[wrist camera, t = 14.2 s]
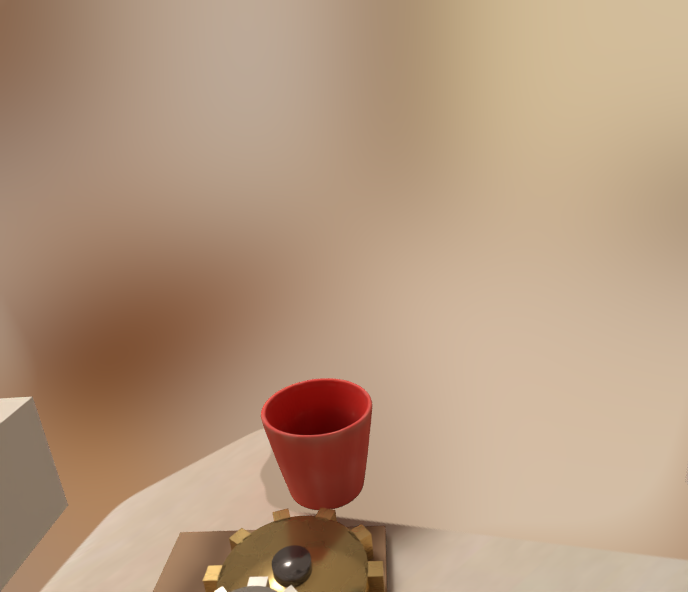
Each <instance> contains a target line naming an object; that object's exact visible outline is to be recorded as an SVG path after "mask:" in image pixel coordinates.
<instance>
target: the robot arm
mask: <svg viewBox="0 0 688 592" xmlns="http://www.w3.org/2000/svg"><path fill="white" fill-rule="evenodd" d="M685 482H686V483H687V484H688V466H687V474H686V481H685ZM67 506H68V503H67V500H66V497H65V494H64V491H63V488H62V485H61V482H60V479H59V476H58V473H57V470H56V467H55V464H54V461H53V458H52V455H51V452H50V449H49V446H48V443H47V440H46V437H45V433H44V430H43V428H42V424H41V421H40V418H39V415H38V412H37V409H36V406H35V403H34V400H33V397H19V398H2V399H0V591H1V590H2V589H3V588H4V586H5V585H6V584H7V583H8V581H9V580H10V579H11V578H12V576H13V575H14V574H15V572H16V571H17V570H18V569H19V567H20V566H21V565H22V563H23V562H24V561H25V560H26V558H27V557H28V556H29V555H30V553H31V552H32V551H33V549H34V548H35V547H36V545H37V544H38V543H39V542H40V540H41V539H42V538H43V537H44V535H45V534H46V533H47V531H48V530H49V529H50V528H51V526H52V525H53V524H54V523H55V521H56V520H57V519H58V517H59V516H60V515H61V514H62V512H63V511H64V510H65V508H66V507H67Z"/></svg>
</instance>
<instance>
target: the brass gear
mask: <svg viewBox="0 0 688 592" xmlns="http://www.w3.org/2000/svg"><path fill="white" fill-rule="evenodd" d="M273 518H274V522H271V523H269V524H267V525H264V526H262V527H260V528H259V529H257V530H255V531H254V532H252V533H249V532H247V531H246V530H244V529H243V528H241V529H240V530H238V531H237V532H236V533H235V534H234V535H232V536H231V537H230V538H229V541H230V546H231V552H230V554H229V555H228V557H227V558H226V560H225V562H224V563H223V565H214V566H208V568H207V571H206V574H205V576H204V579H203V583H204V587H205V591H206V592H215V591H216V590H217V589H219V588H220V587H222V586H223V587H224V588H225V590H226V591H227V592H231V591H233V590H236V589H239V588H242V587H247V585H248V581H249V578H250V577H268V579H269V584H270V588H272V589H274V590H276V591H278V592H282V591H284V590H285V589H286V588H288V587H289V586H290V585H292V586H293V587H294V588H295V590H296V591H297V592H385V580H384V570H383V561H369V560H370V559H372V558H374V556H373V546H372V536H371V533H370V532H369V531H368V530H367V529H366V528H365V527H364V526H363V525H362V524H361V525H359V526H357V527H355V528H353V529H352V530H349V529H348V528H347V527H345V526H343V525H342V524H340V523H338V522H337V520H336V512H335V510H332V509H327V508H322V507H321V508H320V509H319V511H318V513H317V514H316V516H295V517H290V514H289V510H288V509H284V510H280V511H276V512H273Z"/></svg>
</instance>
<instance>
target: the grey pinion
mask: <svg viewBox="0 0 688 592" xmlns="http://www.w3.org/2000/svg"><path fill="white" fill-rule="evenodd" d="M215 592H227V591H226V590H225V588H224V587H223V586H222V587H220V588H219V589H217V590H216V591H215ZM231 592H278V591H276V590H274V589H272V588H270V584H269V579H268V577H250V578H249V581H248V585H247V587H242V588H239V589H236V590H233V591H231ZM282 592H297V591H296V590H295V588H294V587H293V586H292V585H290V586H289V587H288V588H286V589H285V590H284V591H282Z"/></svg>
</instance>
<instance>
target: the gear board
mask: <svg viewBox="0 0 688 592" xmlns="http://www.w3.org/2000/svg"><path fill="white" fill-rule="evenodd" d="M347 528H348V529H349V530H352V529H353V528H355V527H347ZM365 528H366V529H367V530H368V531H369V532H370V533H371V536H372V546H373V556H374V558H372V559H370V560H369V561H383V570H384V580H385V592H387V566H386V531H385V526H365ZM246 531H247V532H249V533H252V532H254V531H255V530H246ZM236 532H237V531H211V532H181V533H180V534H179V537H178V539H177V541H176V543H175V545H174V547H173V549H172V552H171V554H170V556H169V558H168V560H167V562H166V565H165V567H164V569H163V571H162V573H161V575H160V577H159V580H158V582H157V584H156V586H155V588H154V590H153V592H206V591H205V587H204V583H203V579H204V576H205V574H206V571H207V568H208V566H214V565H223V563H224V562H225V560H226V558H227V557H228V555H229V554H230V552H231V546H230V541H229V538H230V537H231V536H232V535H234V534H235V533H236Z"/></svg>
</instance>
